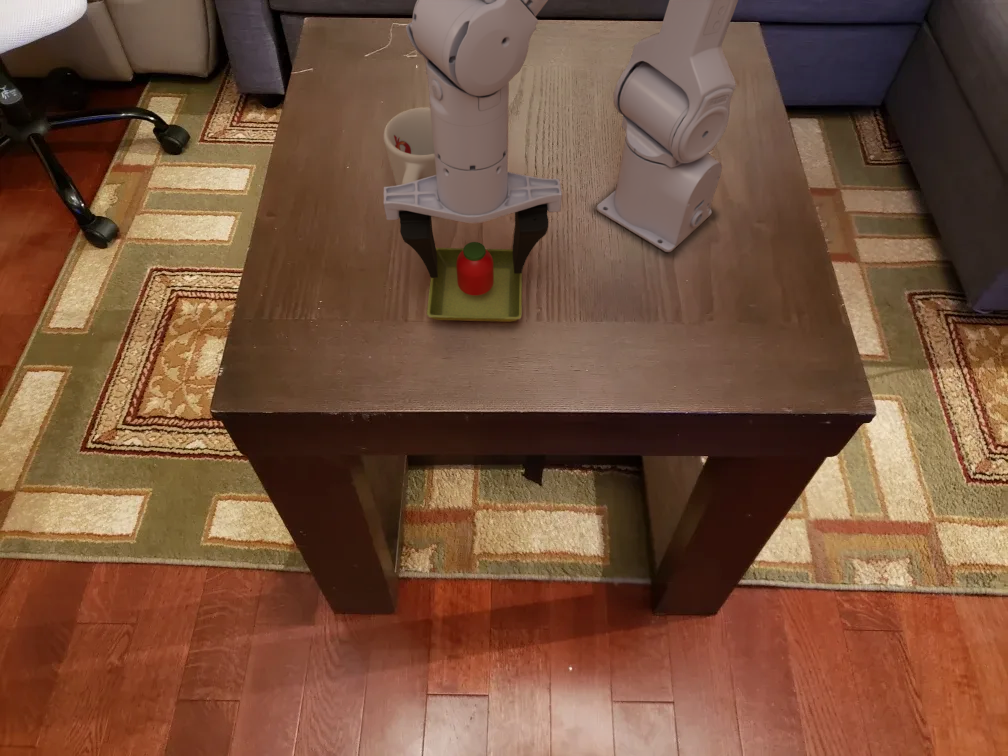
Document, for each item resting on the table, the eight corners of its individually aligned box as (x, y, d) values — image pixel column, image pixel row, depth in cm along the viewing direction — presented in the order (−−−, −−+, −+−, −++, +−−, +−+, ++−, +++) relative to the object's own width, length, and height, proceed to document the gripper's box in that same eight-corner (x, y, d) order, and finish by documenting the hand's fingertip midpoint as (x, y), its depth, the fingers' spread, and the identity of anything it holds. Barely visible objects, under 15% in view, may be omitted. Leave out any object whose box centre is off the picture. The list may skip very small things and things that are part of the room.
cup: (450, 243, 75) (446, 182, 69) (375, 232, 76) (363, 170, 69) (474, 174, 81) (472, 111, 75) (404, 164, 82) (395, 101, 75)
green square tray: (521, 333, 69) (521, 318, 67) (427, 330, 69) (426, 316, 67) (522, 263, 74) (522, 249, 72) (435, 261, 74) (433, 247, 72)
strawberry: (492, 267, 71) (492, 235, 67) (494, 294, 69) (494, 262, 65) (456, 269, 70) (454, 237, 67) (458, 296, 69) (456, 264, 65)
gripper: (558, 110, 59) (549, 232, 71) (377, 117, 59) (396, 240, 70) (569, 168, 55) (557, 288, 67) (375, 177, 55) (396, 297, 66)
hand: (475, 267), depth 68 cm, fingers open, 7 cm apart
